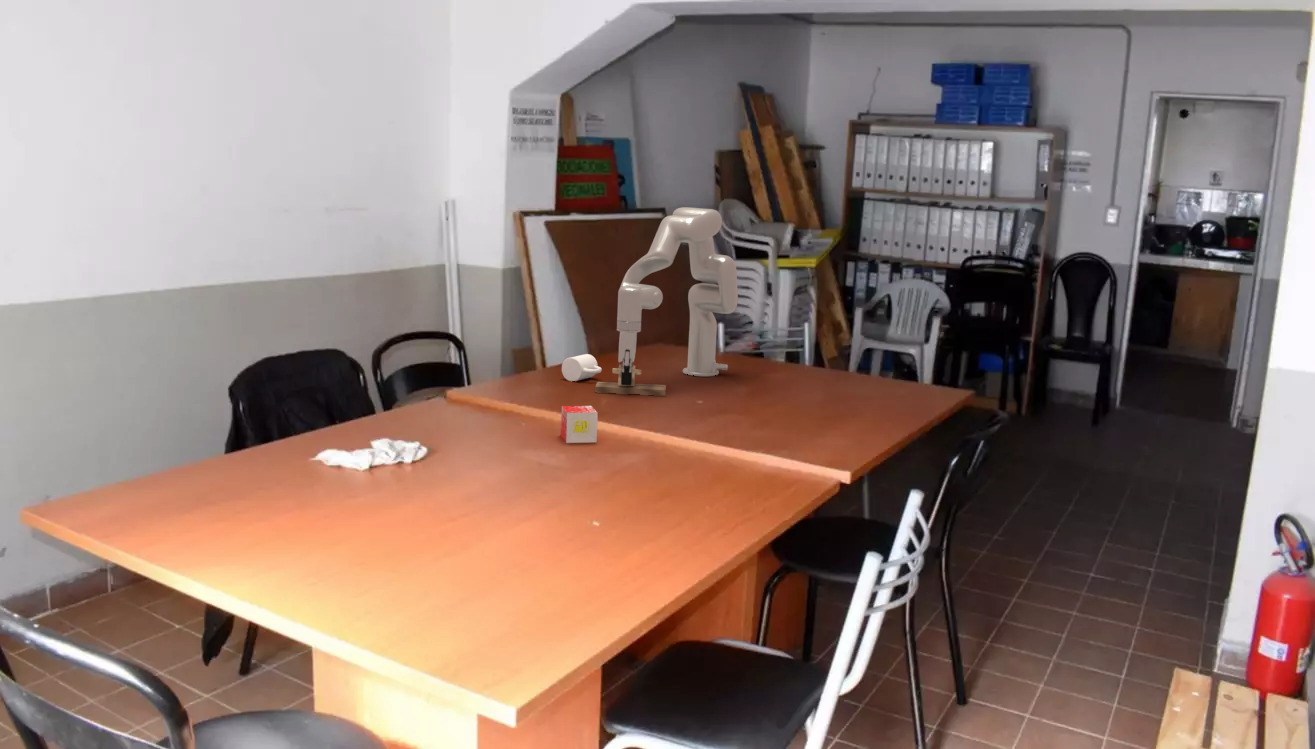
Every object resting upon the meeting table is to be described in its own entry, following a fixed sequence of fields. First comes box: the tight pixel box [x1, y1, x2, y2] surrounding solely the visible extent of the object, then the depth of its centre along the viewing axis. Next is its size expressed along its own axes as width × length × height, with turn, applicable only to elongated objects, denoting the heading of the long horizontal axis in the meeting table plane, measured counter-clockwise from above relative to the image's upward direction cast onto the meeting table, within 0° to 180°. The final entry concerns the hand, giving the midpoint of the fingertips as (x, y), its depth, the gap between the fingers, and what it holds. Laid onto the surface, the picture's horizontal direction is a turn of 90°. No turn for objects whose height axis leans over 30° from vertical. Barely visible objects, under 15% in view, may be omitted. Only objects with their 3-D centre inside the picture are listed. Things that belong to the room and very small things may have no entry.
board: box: [594, 381, 667, 397], centre depth 343 cm, size 22×8×2 cm, turn 89°
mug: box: [561, 353, 603, 382], centre depth 358 cm, size 12×10×8 cm
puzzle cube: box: [560, 405, 599, 444], centre depth 280 cm, size 8×8×8 cm
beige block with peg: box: [612, 363, 642, 386], centre depth 342 cm, size 9×4×7 cm, turn 89°
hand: (626, 382), depth 342 cm, fingers closed on beige block with peg, 4 cm apart
